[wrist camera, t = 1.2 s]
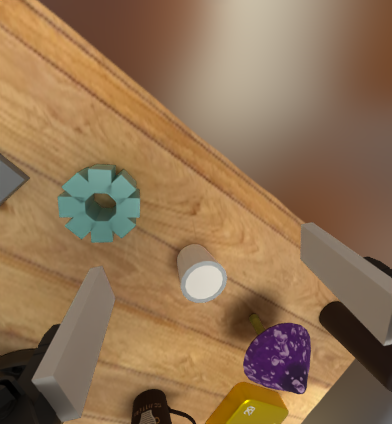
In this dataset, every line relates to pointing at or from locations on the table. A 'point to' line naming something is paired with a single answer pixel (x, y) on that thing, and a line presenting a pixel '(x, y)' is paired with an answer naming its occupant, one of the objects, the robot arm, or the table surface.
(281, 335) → the decorative mushroom
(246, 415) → the element tile
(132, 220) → the idler gear
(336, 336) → the bottle
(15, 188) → the gear board
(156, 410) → the coffee mug
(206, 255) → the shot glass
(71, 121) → the table surface
